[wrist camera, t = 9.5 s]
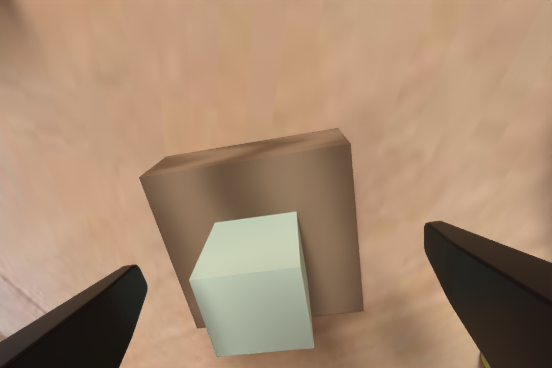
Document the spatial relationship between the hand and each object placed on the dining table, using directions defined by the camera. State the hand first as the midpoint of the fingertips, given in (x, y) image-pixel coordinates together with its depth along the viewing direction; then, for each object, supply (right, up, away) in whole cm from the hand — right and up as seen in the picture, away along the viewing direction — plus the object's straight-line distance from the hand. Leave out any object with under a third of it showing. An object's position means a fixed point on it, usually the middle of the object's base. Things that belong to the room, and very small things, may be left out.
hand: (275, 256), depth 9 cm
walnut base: (-1, 0, +13) cm, 13 cm away
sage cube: (-1, -2, +9) cm, 9 cm away
